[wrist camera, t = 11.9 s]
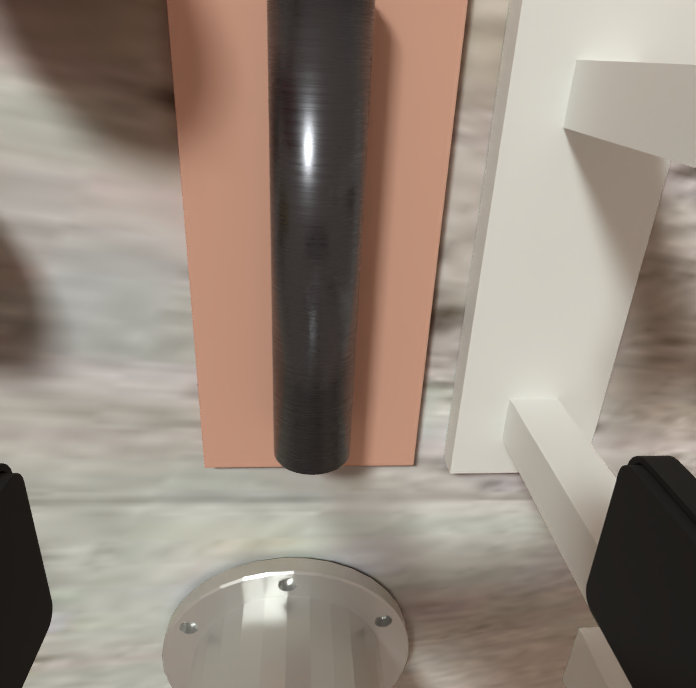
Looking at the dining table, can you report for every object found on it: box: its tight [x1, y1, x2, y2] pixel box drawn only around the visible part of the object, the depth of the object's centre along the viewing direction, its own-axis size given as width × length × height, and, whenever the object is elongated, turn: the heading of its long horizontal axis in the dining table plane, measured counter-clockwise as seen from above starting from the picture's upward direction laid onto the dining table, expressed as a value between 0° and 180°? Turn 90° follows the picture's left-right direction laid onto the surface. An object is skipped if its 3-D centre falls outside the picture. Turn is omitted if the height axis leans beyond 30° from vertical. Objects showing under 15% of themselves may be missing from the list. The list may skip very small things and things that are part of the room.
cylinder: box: [267, 0, 375, 475], centre depth 20 cm, size 16×3×3 cm, turn 178°
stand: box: [444, 0, 696, 688], centre depth 16 cm, size 18×6×16 cm, turn 177°
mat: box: [167, 0, 468, 468], centre depth 21 cm, size 20×9×1 cm, turn 178°
